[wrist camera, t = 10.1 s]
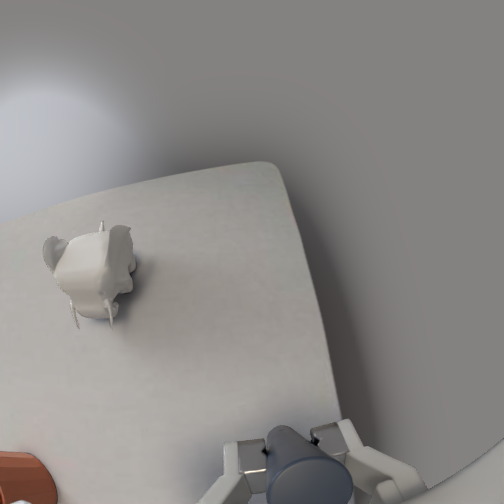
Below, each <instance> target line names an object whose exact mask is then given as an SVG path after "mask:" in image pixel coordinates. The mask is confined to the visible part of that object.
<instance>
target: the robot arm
mask: <svg viewBox="0 0 504 504" xmlns="http://www.w3.org/2000/svg"><path fill="white" fill-rule="evenodd" d="M310 435H311V438H312V440H311V443H312V444H314V445H315V446H317V447H318V448H320V449H321V450H322V451H324V452H325V453H327V454H328V455H330V456H331V457H333V458H334V459H336V460H337V461H339V462H340V463H342V464H343V465H344V466H345V467H346V468H347V469H348V470H349V472H350V474H351V476H352V480H353V484H354V485H355V486H357V487H358V488H360V489H361V490H363V491H364V492H366V493H367V494H369V495H370V496H372V497H371V499H370V501H369V504H504V438H503V439H502V440H501V441H500V442H498V443H497V444H496V445H495V446H493V447H492V448H491V449H490V450H488V451H487V452H486V453H484V454H483V455H482V456H480V457H479V458H478V459H477V460H475V461H473V462H472V463H471V464H469V465H468V466H466V467H465V468H463V469H462V470H460V471H459V472H457V473H456V474H454V475H452V476H451V477H449V478H447V479H446V480H444V481H442V482H441V483H439V484H437V485H436V486H434V487H432V488H430V489H428V488H427V487H426V485H425V483H424V482H423V480H422V479H421V477H420V475H419V474H418V472H417V470H416V469H415V467H413V466H411V465H409V464H406V463H404V462H401V461H399V460H397V459H394V458H392V457H390V456H388V455H386V454H383V453H381V452H379V451H377V450H375V449H373V448H371V447H369V446H366V447H363V444H362V442H361V440H360V438H359V436H358V434H357V432H356V430H355V428H354V426H353V425H352V422H351V421H350V419H345V420H342V421H338V422H334V423H330V424H327V425H323V426H319V427H315V428H311V430H310ZM223 456H224V476H219V478H218V479H217V480H216V481H215V483H214V484H213V485H212V486H211V487H210V489H209V490H208V491H207V492H206V493H205V494H204V496H203V497H202V498H201V499H200V500H199V501H198V503H197V504H247V503H248V501H249V500H250V498H251V496H252V494H258V493H265V492H267V449H266V445H265V440H264V438H262V439H254V440H245V441H235V442H224V446H223ZM11 504H31V503H29V502H27V501H24V500H20V501H16V502H14V503H11Z"/></svg>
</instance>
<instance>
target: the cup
mask: <svg viewBox="0 0 504 504" xmlns="http://www.w3.org/2000/svg"><path fill="white" fill-rule="evenodd" d="M20 500H24V501H27V502H29V503H31V504H57V491H56V487H55V484H54V482H53V479H52V477H51V475H50V474H49V472H48V470H47V469H46V468H45V466H44V465H43V464H42V463H41V462H40V461H39V460H38V459H37V458H36V457H34V456H33V455H31V454H29V453H21V452H6V451H0V504H11V503H14V502H16V501H20Z"/></svg>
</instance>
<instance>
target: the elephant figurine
mask: <svg viewBox="0 0 504 504" xmlns="http://www.w3.org/2000/svg"><path fill="white" fill-rule="evenodd" d="M103 222H104V221H103V220H102V221H101V224H100V229H99V232H95V233H89V234H85V235H82V236H79V237H76V238H74V239H73V240H71V241H70V243H68V241H67V240H65V239H59V238H58V237H56V236H52V237H50V238H48V239H47V240H46V241H45V243H44V246H43V257H44V261H45V263H46V265H47V267H48V268H49V269H50V271H51V272H52V273H53V275H54V277H55V280H56V282H57V284H58V286H59V287H60V289H61V290H62V291H63V292H65V293H66V294H67V295H68V296H69V297H70V300H71V304H70V306H71V307H70V310H71V313H72V316H73V318H74V321H75V323H76V325H77V327H78V329H79V323H78V320H77V317H76V313H75V310H77V312H78V313H79V314H80V315H81V316H83V317H86V318H110V327H111V330H112V323H113V317H115V316H116V315H117V312H118V306H119V305H118V303H117V302H113V300H114V298H115V297H116V295H117V294H118V293H129V292H131V291H132V289H133V281H132V278H131V276H130V274H129V273H131V272H132V271H134V269H135V268H136V261H135V257H134V254H133V243H132V239H131V236H130V233H129V231H130V229H131V228H130V227H127V226H123V225H116V226H114V227H112V228H111V230H110V232H109V231H104V224H103Z"/></svg>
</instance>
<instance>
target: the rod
mask: <svg viewBox="0 0 504 504" xmlns="http://www.w3.org/2000/svg"><path fill="white" fill-rule="evenodd" d="M352 492H353V480H352V476H351V474H350V472H349V470H348V469H347V468H346V467H345V466H344V465H343V464H342V463H340V462H339V461H337V460H336V459H334V458H333V457H331V456H330V455H328V454H327V453H325V452H324V451H322V450H321V449H320V448H318V447H317V446H315V445H314V444H312V443H311V442H310V441H308V440H307V439H305V438H304V437H303V436H301V435H300V434H299V433H297V432H296V431H295V430H293V429H292V428H290V427H288V426H283V425H282V426H277V427H275V428H273V429H272V430H271V431H270V432H269V434H268V436H267V502H268V504H347V503H348V502H349V500H350V498H351V495H352Z"/></svg>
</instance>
